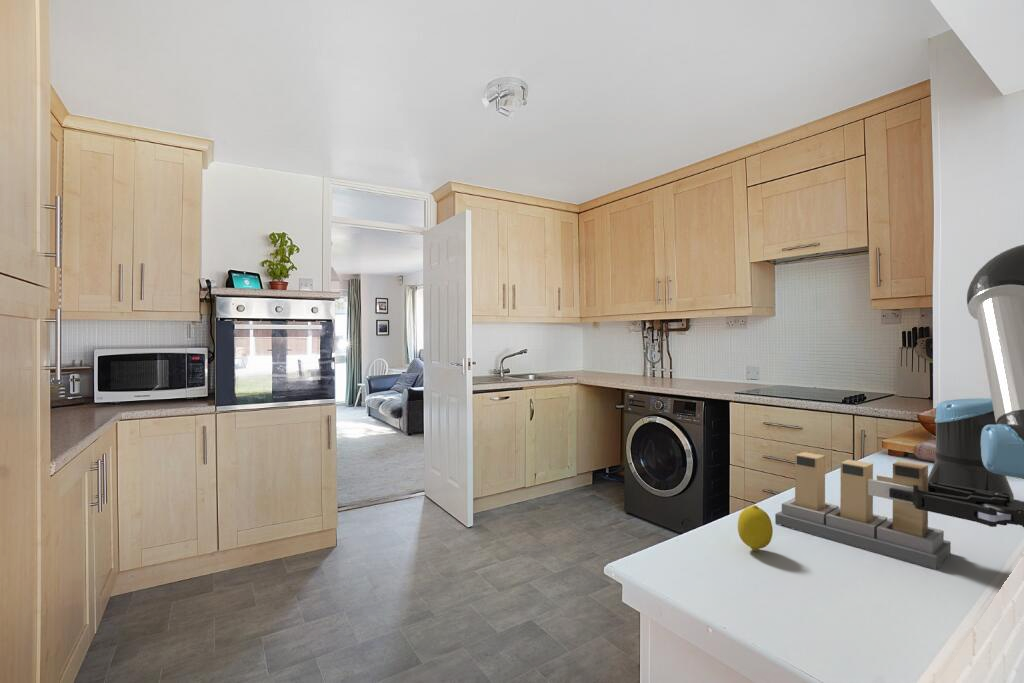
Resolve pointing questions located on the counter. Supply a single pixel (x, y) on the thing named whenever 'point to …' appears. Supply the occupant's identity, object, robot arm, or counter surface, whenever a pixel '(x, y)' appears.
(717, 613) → the counter surface
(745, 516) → the lemon
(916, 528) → the oak finger
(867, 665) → the counter surface
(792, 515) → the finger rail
